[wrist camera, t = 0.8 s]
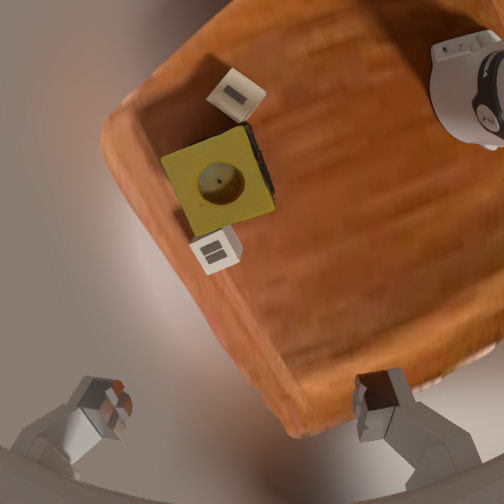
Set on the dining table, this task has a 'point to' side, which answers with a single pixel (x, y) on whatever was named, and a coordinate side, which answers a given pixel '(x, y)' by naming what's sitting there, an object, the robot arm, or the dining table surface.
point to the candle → (220, 180)
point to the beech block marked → (237, 96)
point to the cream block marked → (217, 249)
